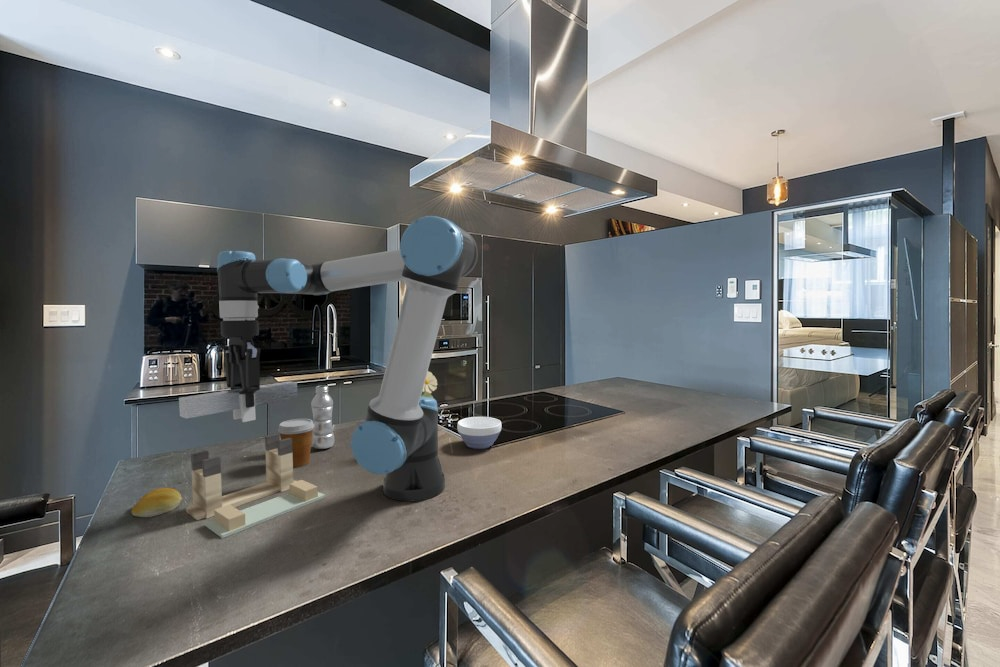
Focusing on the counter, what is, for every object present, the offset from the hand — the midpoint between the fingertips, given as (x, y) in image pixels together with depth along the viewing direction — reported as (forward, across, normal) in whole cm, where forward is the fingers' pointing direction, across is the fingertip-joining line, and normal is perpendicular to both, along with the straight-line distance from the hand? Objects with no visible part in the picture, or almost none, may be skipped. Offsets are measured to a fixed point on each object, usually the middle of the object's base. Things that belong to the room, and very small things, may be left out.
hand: (244, 419), depth 99 cm
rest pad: (+19, -10, 0) cm, 22 cm away
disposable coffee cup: (+19, +12, -19) cm, 29 cm away
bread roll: (+19, +11, +14) cm, 26 cm away
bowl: (+20, -20, -62) cm, 69 cm away
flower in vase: (+19, -6, -49) cm, 53 cm away
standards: (+19, +1, 0) cm, 19 cm away
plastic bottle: (+19, +18, -31) cm, 40 cm away
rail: (-3, 0, 0) cm, 3 cm away
